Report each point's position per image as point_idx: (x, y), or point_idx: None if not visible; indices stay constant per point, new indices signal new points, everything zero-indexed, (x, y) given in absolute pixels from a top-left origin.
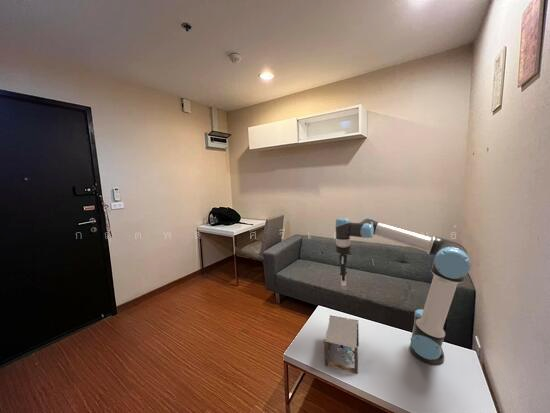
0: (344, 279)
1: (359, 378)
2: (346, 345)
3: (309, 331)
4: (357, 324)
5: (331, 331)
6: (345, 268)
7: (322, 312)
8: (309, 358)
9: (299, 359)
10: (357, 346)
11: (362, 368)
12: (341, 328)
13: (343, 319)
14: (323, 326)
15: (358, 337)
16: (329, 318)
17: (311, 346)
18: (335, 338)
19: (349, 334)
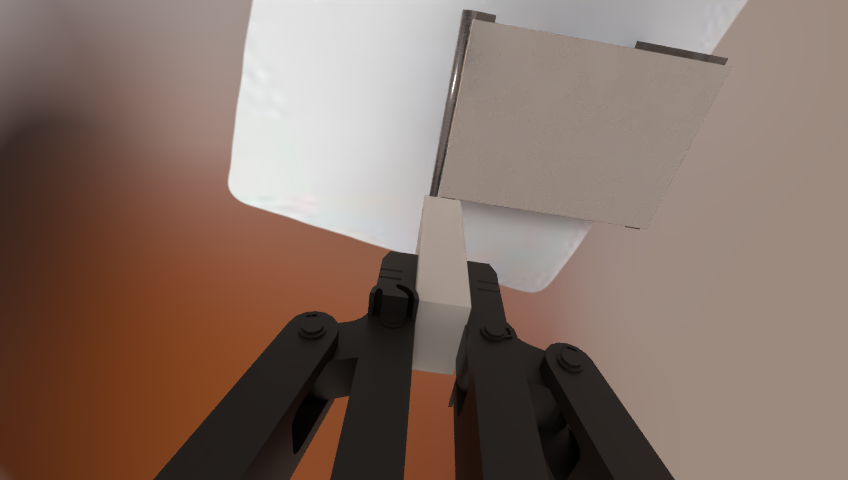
0: (496, 283)
1: (675, 38)
2: (698, 122)
3: (408, 236)
4: (494, 22)
5: (582, 196)
6: (486, 459)
7: (249, 184)
8: (559, 230)
9: (563, 261)
10: (711, 56)
11: (623, 14)
12: (558, 140)
13: (467, 120)
14: (361, 180)
15: (476, 11)
16: (450, 198)
17: (496, 226)
18: (642, 179)
19: (618, 96)
